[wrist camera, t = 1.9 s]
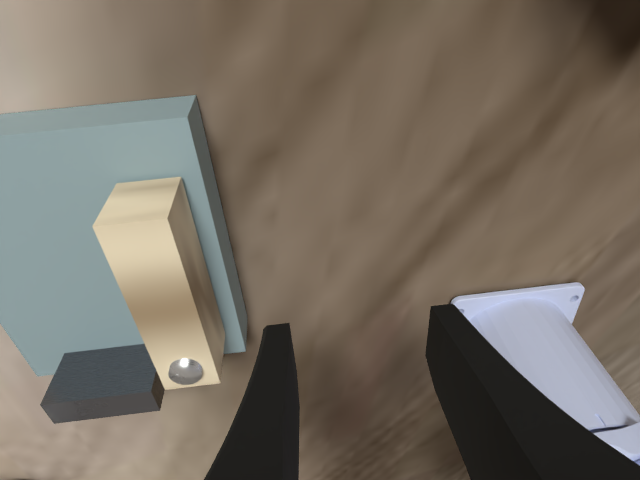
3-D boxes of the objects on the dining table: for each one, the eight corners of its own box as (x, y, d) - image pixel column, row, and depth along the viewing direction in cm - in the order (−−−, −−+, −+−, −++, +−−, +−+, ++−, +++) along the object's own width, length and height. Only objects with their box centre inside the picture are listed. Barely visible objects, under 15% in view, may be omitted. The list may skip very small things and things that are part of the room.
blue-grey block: (247, 317, 26) (243, 400, 22) (55, 340, 26) (11, 428, 21) (195, 95, 18) (173, 152, 14) (-80, 122, 18) (-193, 189, 14)
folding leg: (225, 333, 23) (219, 388, 20) (176, 339, 23) (163, 395, 20) (181, 176, 17) (165, 223, 15) (116, 183, 17) (89, 231, 15)
